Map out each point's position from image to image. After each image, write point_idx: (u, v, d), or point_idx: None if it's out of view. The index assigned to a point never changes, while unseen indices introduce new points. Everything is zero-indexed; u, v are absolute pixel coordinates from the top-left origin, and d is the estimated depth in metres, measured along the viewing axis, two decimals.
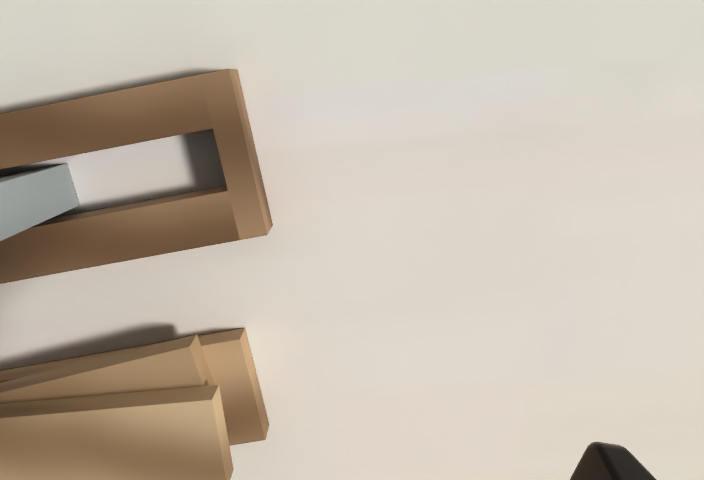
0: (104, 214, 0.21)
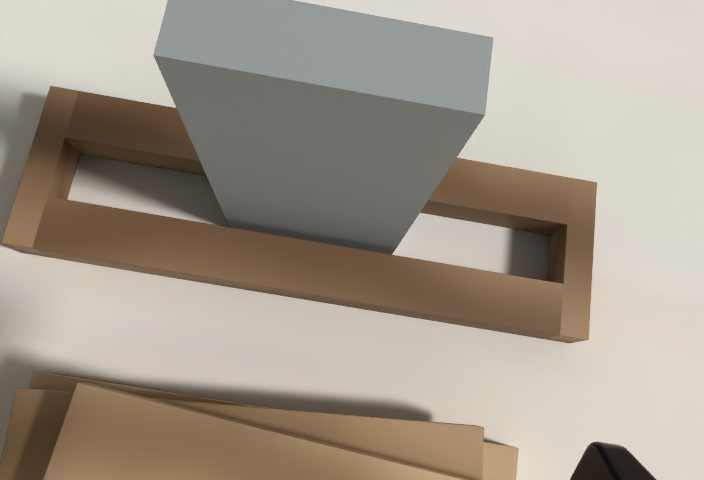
0: (437, 263, 0.21)
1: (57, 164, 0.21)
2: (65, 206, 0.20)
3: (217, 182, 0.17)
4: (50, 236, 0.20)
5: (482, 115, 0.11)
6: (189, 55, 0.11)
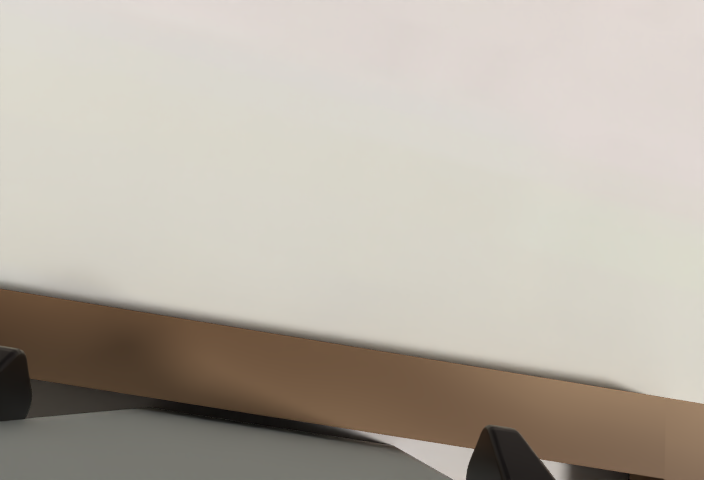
0: None
1: None
2: None
3: None
4: None
5: None
6: None
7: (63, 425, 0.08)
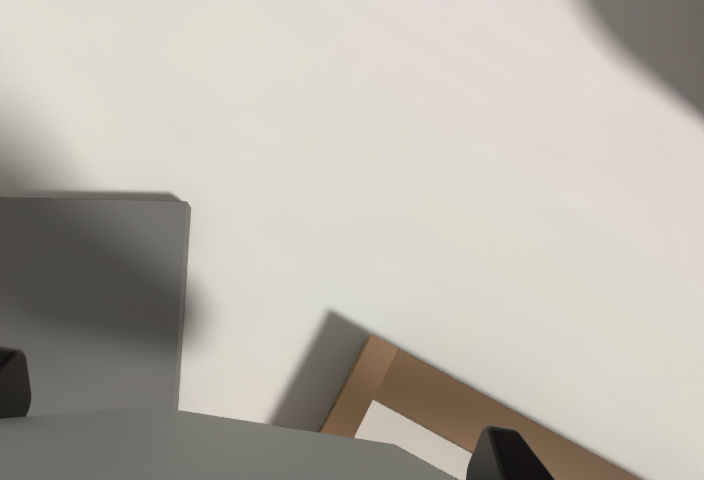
0: None
1: (359, 425, 0.20)
2: None
3: None
4: None
5: None
6: None
7: (66, 423, 0.08)
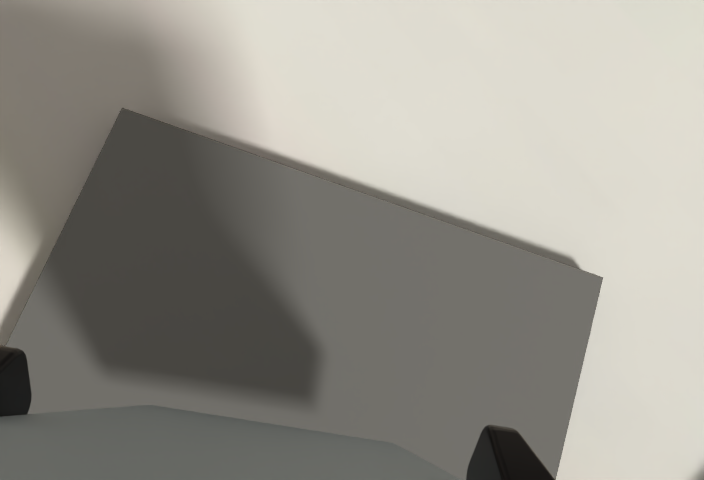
0: None
1: None
2: None
3: None
4: None
5: None
6: None
7: (64, 421, 0.08)
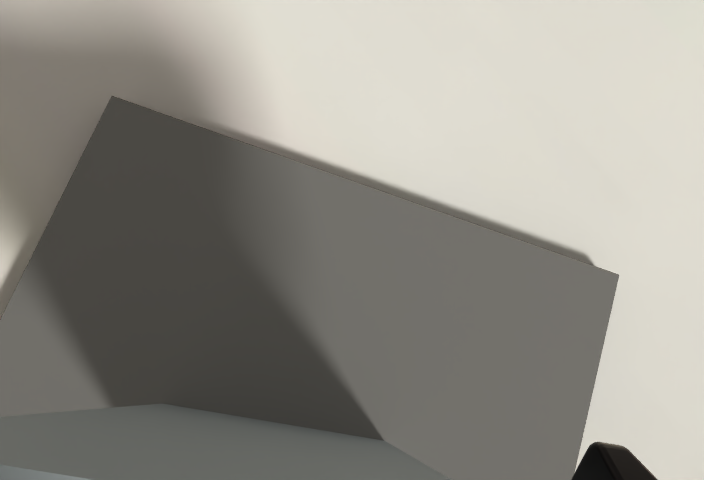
0: None
1: None
2: None
3: None
4: None
5: None
6: None
7: (98, 417, 0.09)
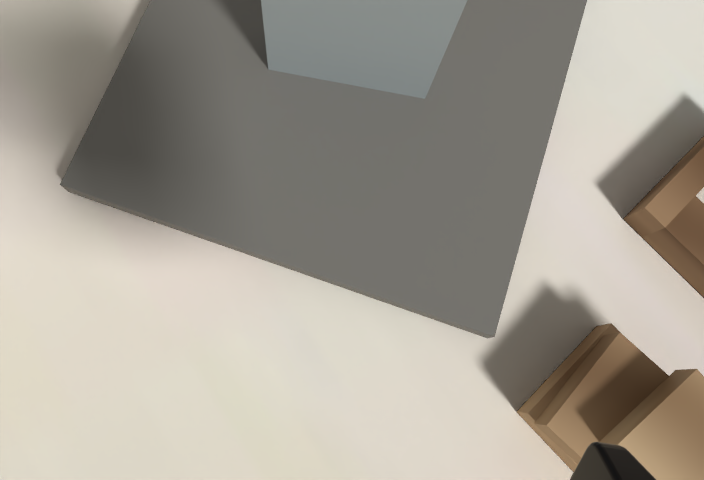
0: None
1: None
2: None
3: None
4: (682, 229, 0.22)
5: None
6: None
7: None
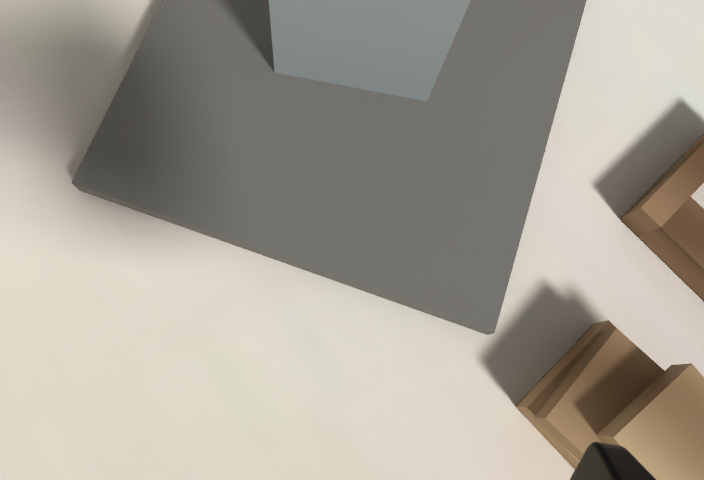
0: None
1: None
2: (700, 213, 0.23)
3: None
4: (678, 228, 0.22)
5: None
6: None
7: None
